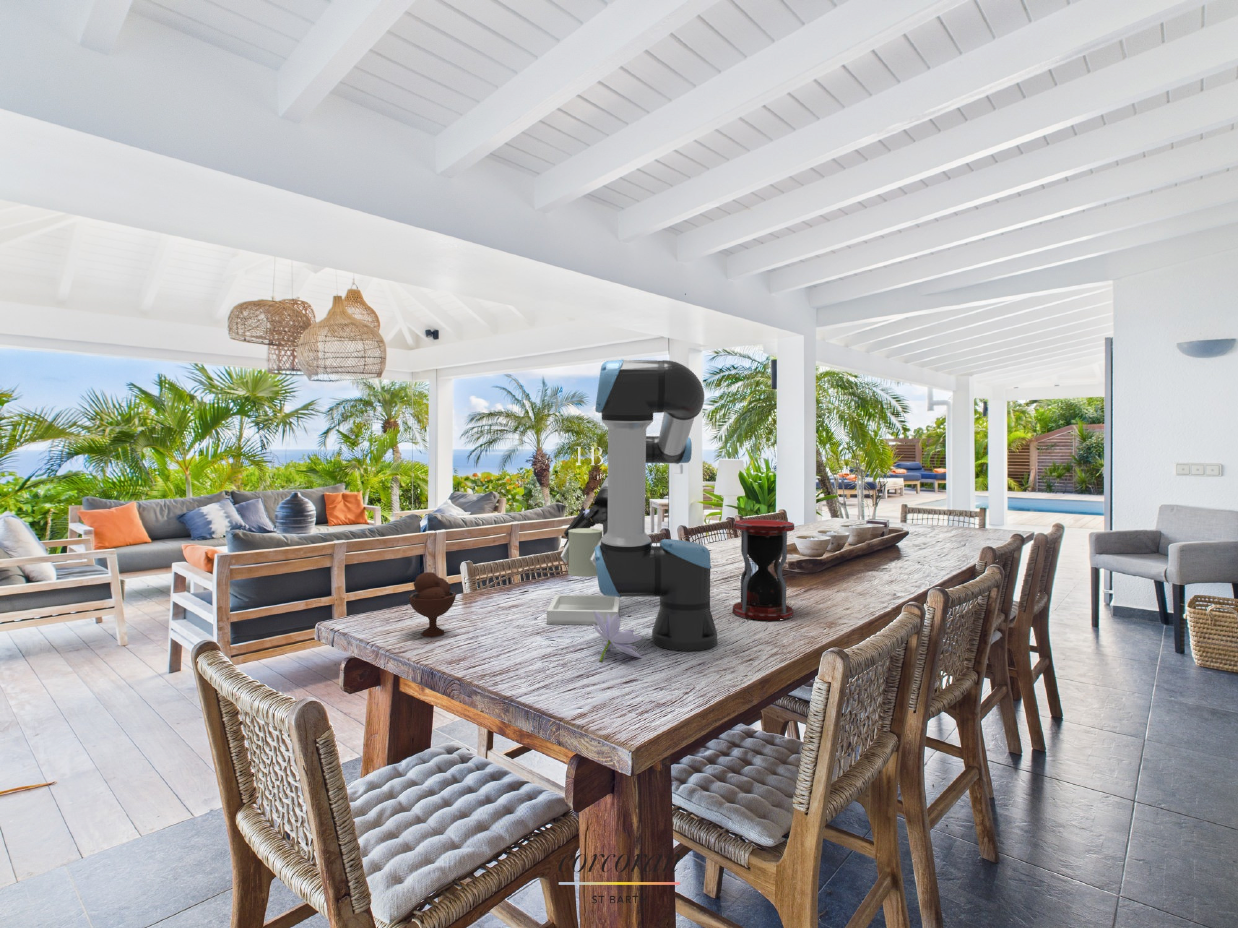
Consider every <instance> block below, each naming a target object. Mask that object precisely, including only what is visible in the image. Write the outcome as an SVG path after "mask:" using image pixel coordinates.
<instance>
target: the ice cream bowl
mask: <svg viewBox="0 0 1238 928" xmlns="http://www.w3.org/2000/svg"><path fill="white" fill-rule="evenodd" d="M413 587H414V588H413V589H414V590H415V591H416V592H412V593H411V594H410V595H409V596H408V600H409V604H410V606H411V608H412V609H413V610H414V611H415V612H416V613H418V615H420V616H423V617H425V618H427V619H428V625H429V626H428V627H426V628H425V629H424V630H422V631H421V633H420V636H421V637H424V638H437V637H441V636H444V634H445V633H446V631H445V630H444V629H442V628H440V627H438V626H437V625H438V624H437V623H438V622H437V620H438V617H441V616H443V615H445V614H446V613H447V612H448V611H449V610H450V609H451V608H452V606H453V605H454V602H455V601H456V600H455V599H456V597H457V592H455V591H452V590H451V583H449V582H448V581H447V580H445V578H443V577H440V576H438V575H437V574H436V573H434V572H430V571H426V572H422V573H421V574H419V575H417V577H416V578H415V580H414V581H413Z"/></svg>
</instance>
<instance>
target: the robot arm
mask: <svg viewBox="0 0 1238 928" xmlns="http://www.w3.org/2000/svg"><path fill="white" fill-rule="evenodd" d="M598 378H599V379H598V386H597V394H596V402H595V408H594V411H595V412H596V413H598V414H601V422H602V423H603V424H604V425H605V426H606V427H607V435H608V436H607V437H608V438H607V441H608V442H607V476H606V478H605V479H604V481H603V483H602V484H601V486H600V487H599V490H598V492H597V494H596V496H595V498H594V500H593V506H591V507H590V508H588V509H587V508H585V507H584V506H583V507H581V508H580V509H579V512H578V514H577V515H576V517H575V518H574V519H573V521H572V522H571V523H570V525H568V526H567V528H566V530H564V532H563V535H564V536H565V538H566V541H565V543H564V545H563V547H564V549H563V550H562V552H561V553H560V558H561V559H562V561H563V562H564V563H568V562H569V533H568V530H571V529H578V528H592V527H593V528H594V526H596V525H602V538H601V540H600V541H599V543H598V545H597V546H596V547H595V551H594V553H593V555H592V557H591V559H590V560H591V562H592V563H593V565H594V566H596V571H597V576H596V577H597V578H596V579H597V583H598V588H599V592H600V593H601V595H605V596H613V597H619V598H620V599H621V598H654V597H655V598H658V597H659V609H658V612H657V615H656V618H655V621H654V625H653V627H652V630H651V641H652V643H653V644H654V645H656V646H658V647H660V648H663V649H666V650H673V651H674V650H675V651H684V652H685V651H687V652H692V651H694V652H695V651H702V650H703V651H704V650H708V649H711V648H714V647H715V646H717V644H718V631H717V628H716V625H715V621H714V618H713V614H712V611H711V569H712V563H711V552H710V549H708V547H706V546H705V545H703V544H699V543H696V542H693V541H687V540H680V539H671V538H670V539H667V538H665V539H661V540H660V542H659V546H658V545H657V546H656V545H652V538H651V537H650V536H649V535H648V534H647V533H646V528H645V527H646V474H647V471H646V470H647V469H646V468H647V467H646V465H647V464H675V465H680V464H688V463H690V461H691V459H692V448H693V447H692V446H693V444H692V439H691V437H689V436H690V433H691V430H692V427H693V423H694V421H695V420H694V419H696V417H697V416H698V415H699V414H700V413H701V411H702V409H703V406H704V404H705V391H704V387H703V385H702V383H701V381H700V379H699V378H698V376H697V375H696V374H695V373H694V372H693V371H692V370H691V369H690V368H689V367H687V366H685V365H684V364H682V363H679V362H677V361H674V360H667V359H666V360H655V359H653V360H651V359H650V360H649V359H648V360H646V359H645V360H642V359H641V360H639V359H638V360H637V359H622V358H621V359H616V360H614V359H613V360H606V361H604V362H603V363H602V364H601V366H600V371H599V377H598ZM654 414H663V416H662V421H661V425H660V430H659V434H658V435H647V428H648V427H649V426H650V425H651V424H652V423H653V422H654Z"/></svg>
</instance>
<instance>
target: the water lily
mask: <svg viewBox="0 0 1238 928" xmlns="http://www.w3.org/2000/svg"><path fill="white" fill-rule="evenodd" d="M594 615H595V619H596V621H597V624H598V625H595V624H593V625H592V626H593V628H594V629H595V631H596V632H597V633H598V635H600V637H602V638H603V639H604V641H603V642H602V645H603V648H604V649H603V650H602V653H601V655H600V658H599V662H601V663H602V662H603V661H604V658H605V655H606V652H607V651H608V650H609V651H610V650H612V649H613V646H614V647H615V648H616V649H617V650H619V651H621V652H623V653H624V654H626V655H629V656H631V657H635V658H638V659H643V657H642V656H641V655H640V654H639V652H637V651H635V650H634V649H637V646H634V645H631V644H632V643H635V642H638V641H640V640H642V639H643V637H642V635H641V636H640V635H638V634H635V633H634V632H635V630H634V629H625V630H622V631H620V628H621V618H620V615H619V616H618V615H614V616H613V617H612V619H611V618H610V616H609V614H607V618H606V624H604V621H603V619H602V617H601V615H600V614H599V613H598V612H597V613H596V612H595V611H594ZM605 640H606V641H605Z"/></svg>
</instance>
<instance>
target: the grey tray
mask: <svg viewBox="0 0 1238 928" xmlns="http://www.w3.org/2000/svg"><path fill="white" fill-rule="evenodd" d="M620 599H621V598H619V597H613V596H605V595H603V594H601V595H597V594H593V595H592V594H555V595H554V597H553V598H552V600H551V602H550V604H549V605H548V608H547V609H546V625H555V624H570V625H571V626H573V625H575V626H593V624H595V625H596V626H598V624H597V621H596V619H595V615H594V611H595V612H596V613H597V612H598V613H599V614H600V615H601V617H602V619H603V621H604V624H606V618H607V614H609V616H610V618H611V619H612V617H613V616H614V615H618V616H619V617H620V606H621V604H620V602H621V601H620ZM570 625H569V626H570Z"/></svg>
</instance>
